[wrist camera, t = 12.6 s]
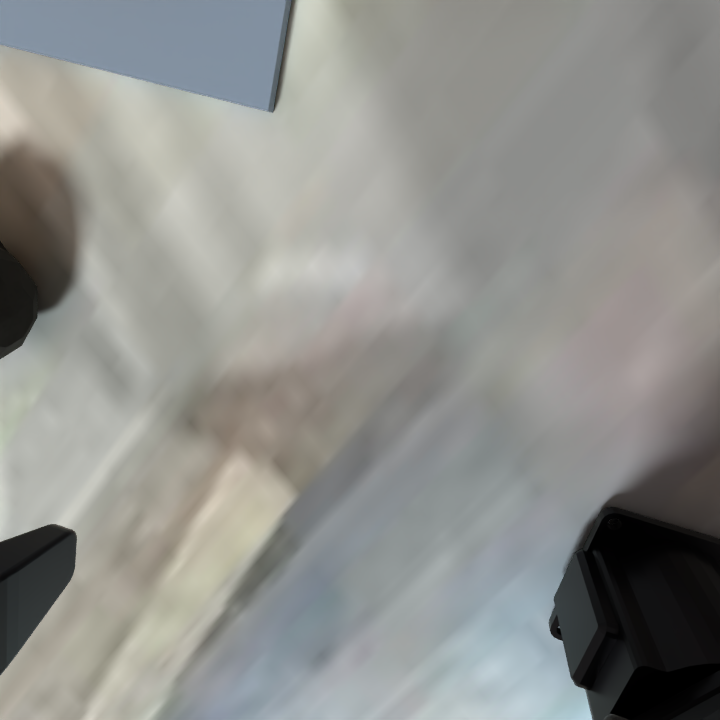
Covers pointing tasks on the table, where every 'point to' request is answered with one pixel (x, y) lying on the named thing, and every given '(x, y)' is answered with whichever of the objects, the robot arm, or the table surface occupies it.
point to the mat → (161, 41)
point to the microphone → (15, 303)
